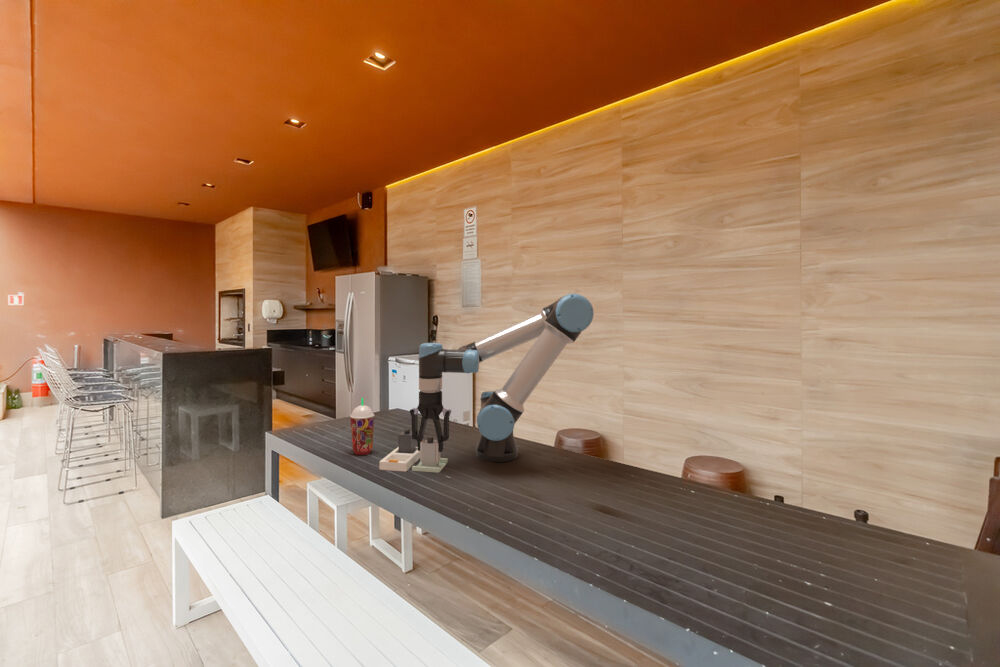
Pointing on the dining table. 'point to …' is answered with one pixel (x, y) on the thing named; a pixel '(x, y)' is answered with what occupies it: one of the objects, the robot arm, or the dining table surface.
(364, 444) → the smoothie
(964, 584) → the dining table surface
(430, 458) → the plug
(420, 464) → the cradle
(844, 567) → the dining table surface
